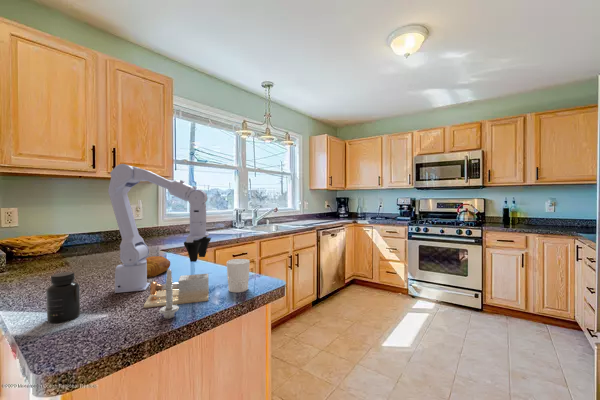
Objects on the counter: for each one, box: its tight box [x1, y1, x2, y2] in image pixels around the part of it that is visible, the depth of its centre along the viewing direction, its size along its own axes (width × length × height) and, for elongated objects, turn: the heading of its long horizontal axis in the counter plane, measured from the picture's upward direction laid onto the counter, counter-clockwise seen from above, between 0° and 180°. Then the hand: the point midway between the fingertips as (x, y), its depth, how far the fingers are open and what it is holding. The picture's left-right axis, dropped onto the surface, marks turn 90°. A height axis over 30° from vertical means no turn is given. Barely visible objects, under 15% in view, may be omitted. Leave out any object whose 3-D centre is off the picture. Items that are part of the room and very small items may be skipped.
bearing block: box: [143, 273, 210, 309], centre depth 91 cm, size 18×14×6 cm
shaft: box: [149, 281, 179, 295], centre depth 90 cm, size 11×4×4 cm, turn 108°
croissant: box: [146, 255, 171, 278], centre depth 121 cm, size 14×16×8 cm
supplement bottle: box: [46, 271, 81, 324], centre depth 75 cm, size 7×7×12 cm
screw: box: [159, 268, 180, 320], centre depth 75 cm, size 13×5×5 cm
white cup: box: [226, 258, 251, 293], centre depth 98 cm, size 8×8×10 cm
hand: (198, 259), depth 102 cm, fingers open, 7 cm apart
